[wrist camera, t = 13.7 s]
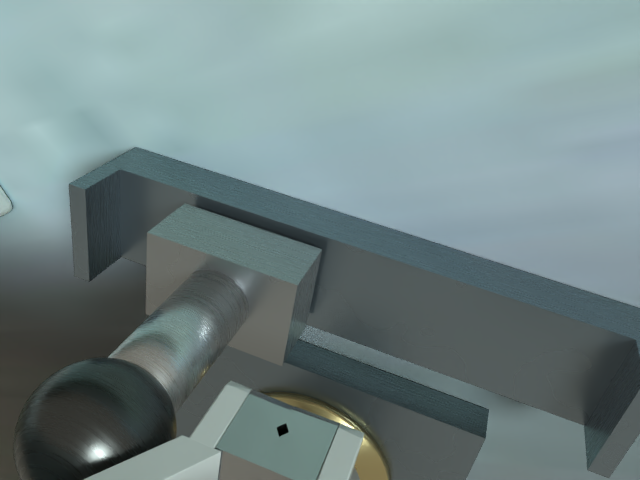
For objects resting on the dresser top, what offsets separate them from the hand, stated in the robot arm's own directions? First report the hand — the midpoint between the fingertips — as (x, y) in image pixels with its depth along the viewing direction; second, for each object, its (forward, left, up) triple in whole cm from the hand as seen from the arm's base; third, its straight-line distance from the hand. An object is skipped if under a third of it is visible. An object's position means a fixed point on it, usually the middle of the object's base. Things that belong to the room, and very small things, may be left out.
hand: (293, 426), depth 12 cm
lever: (+3, 0, -5) cm, 5 cm away
